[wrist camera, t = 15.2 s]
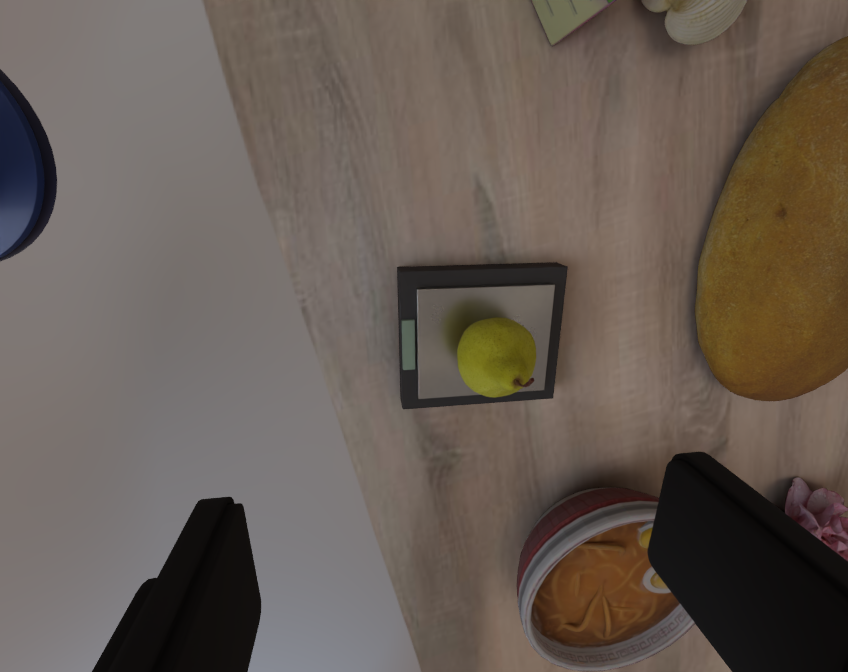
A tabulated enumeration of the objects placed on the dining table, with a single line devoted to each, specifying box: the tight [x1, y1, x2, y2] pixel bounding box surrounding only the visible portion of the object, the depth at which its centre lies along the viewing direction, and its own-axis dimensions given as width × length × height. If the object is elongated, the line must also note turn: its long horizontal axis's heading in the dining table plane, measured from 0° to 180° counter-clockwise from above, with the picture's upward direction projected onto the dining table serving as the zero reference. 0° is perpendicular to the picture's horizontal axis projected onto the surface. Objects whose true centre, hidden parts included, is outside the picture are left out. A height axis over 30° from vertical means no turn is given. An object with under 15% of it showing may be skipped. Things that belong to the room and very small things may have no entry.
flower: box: [785, 477, 848, 561], centre depth 54 cm, size 15×15×10 cm
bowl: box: [517, 488, 695, 671], centre depth 49 cm, size 23×23×10 cm
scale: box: [397, 262, 568, 409], centre depth 41 cm, size 16×14×3 cm
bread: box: [695, 36, 848, 401], centre depth 39 cm, size 18×35×10 cm, turn 2°
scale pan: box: [416, 283, 555, 399], centre depth 40 cm, size 13×11×1 cm
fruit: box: [457, 317, 536, 398], centre depth 34 cm, size 7×7×12 cm
